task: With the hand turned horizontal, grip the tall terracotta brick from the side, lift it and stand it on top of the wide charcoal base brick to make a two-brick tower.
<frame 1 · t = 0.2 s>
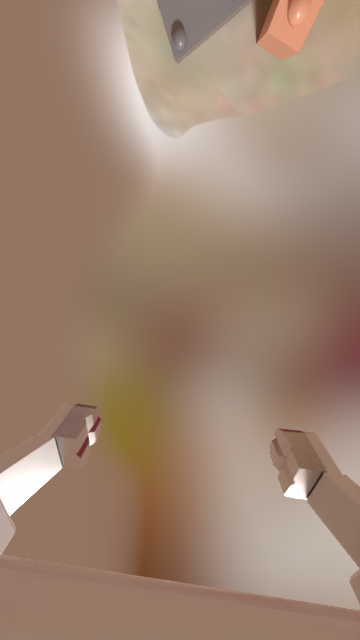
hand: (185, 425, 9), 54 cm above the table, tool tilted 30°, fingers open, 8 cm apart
terracotta brick: (280, 25, 30), on the table
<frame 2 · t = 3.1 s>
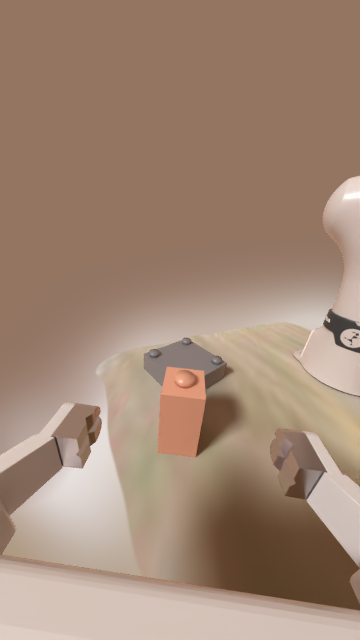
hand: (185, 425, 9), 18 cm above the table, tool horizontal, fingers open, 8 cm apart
terracotta brick: (178, 436, 27), on the table
charcoal base brick: (183, 374, 40), on the table
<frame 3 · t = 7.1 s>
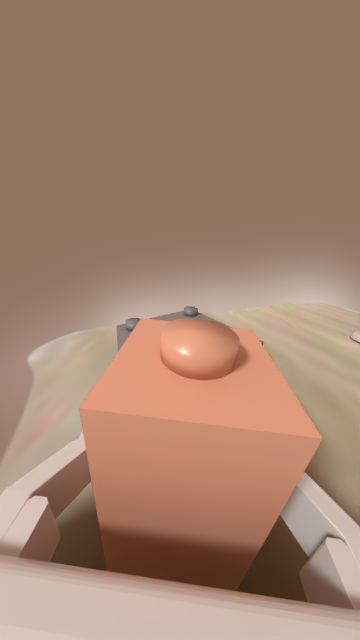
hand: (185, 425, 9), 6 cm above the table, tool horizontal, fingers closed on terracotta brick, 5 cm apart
terracotta brick: (174, 513, 10), on the table, touching gripper
charcoal base brick: (185, 362, 23), on the table
when the fingers open (11 cm above the table, at t = 12.3 s): terracotta brick drops 2 cm, resting on charcoal base brick.
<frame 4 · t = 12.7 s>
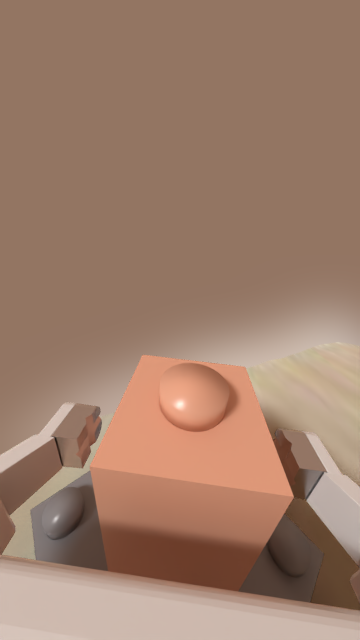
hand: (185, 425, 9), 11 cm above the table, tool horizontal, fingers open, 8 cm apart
terracotta brick: (173, 530, 11), point 4 cm above the table, touching charcoal base brick
charcoal base brick: (168, 560, 12), on the table, touching terracotta brick
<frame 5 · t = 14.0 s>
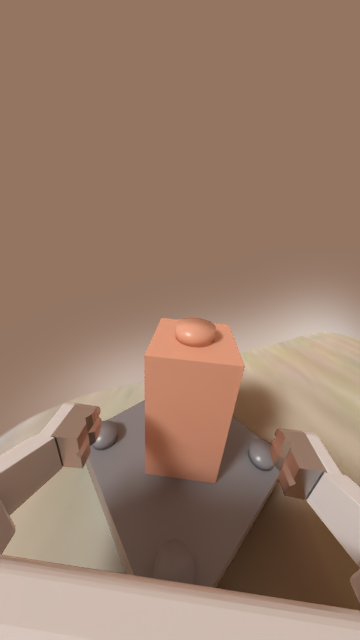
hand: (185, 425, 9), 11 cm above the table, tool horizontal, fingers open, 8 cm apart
terracotta brick: (182, 443, 16), point 4 cm above the table
charcoal base brick: (178, 476, 17), on the table
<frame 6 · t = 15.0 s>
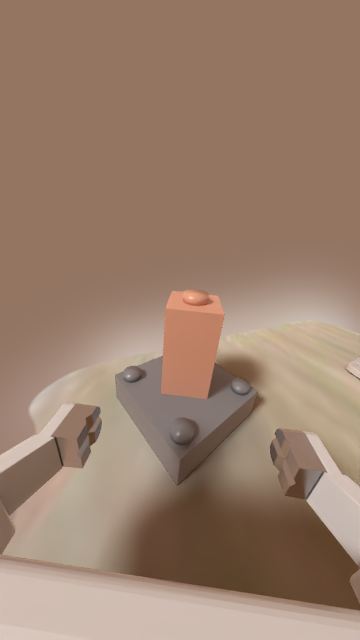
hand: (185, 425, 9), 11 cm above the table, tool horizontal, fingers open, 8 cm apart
terracotta brick: (185, 379, 23), point 4 cm above the table, touching charcoal base brick
charcoal base brick: (182, 407, 24), on the table, touching terracotta brick
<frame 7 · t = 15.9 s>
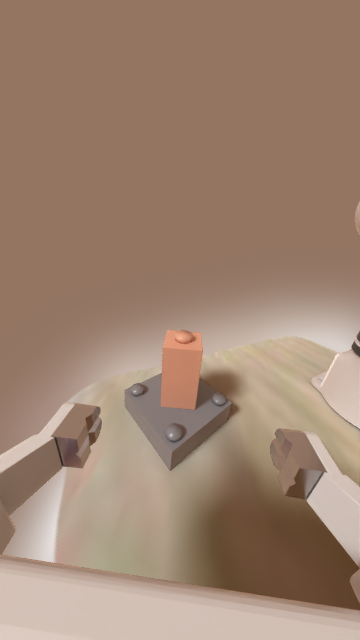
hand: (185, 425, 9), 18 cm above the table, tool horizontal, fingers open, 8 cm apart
terracotta brick: (178, 395, 30), point 4 cm above the table, touching charcoal base brick
charcoal base brick: (175, 415, 31), on the table, touching terracotta brick
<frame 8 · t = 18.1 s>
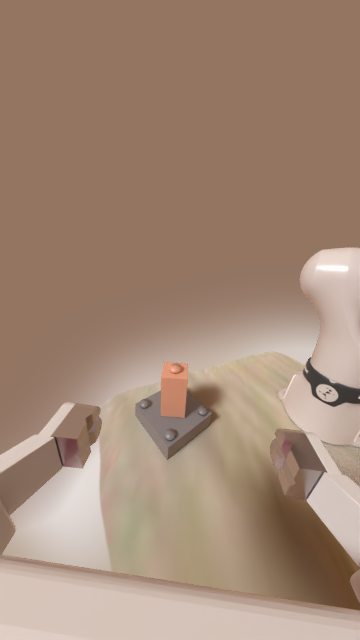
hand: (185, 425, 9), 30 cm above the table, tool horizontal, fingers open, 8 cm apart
terracotta brick: (173, 407, 42), point 4 cm above the table
charcoal base brick: (172, 421, 43), on the table
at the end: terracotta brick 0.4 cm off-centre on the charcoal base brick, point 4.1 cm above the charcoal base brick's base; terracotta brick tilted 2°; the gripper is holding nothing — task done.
